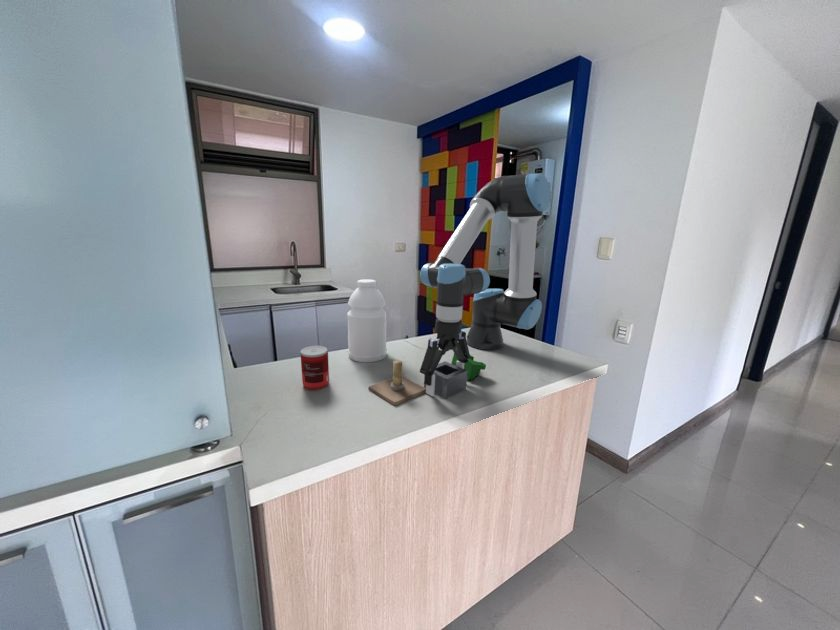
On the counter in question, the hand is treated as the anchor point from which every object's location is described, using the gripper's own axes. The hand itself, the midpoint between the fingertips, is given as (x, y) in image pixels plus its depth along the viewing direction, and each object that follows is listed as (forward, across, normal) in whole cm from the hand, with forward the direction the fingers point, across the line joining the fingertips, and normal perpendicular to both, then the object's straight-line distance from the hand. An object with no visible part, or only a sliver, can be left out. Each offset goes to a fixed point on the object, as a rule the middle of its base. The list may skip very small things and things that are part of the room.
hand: (445, 387), depth 101 cm
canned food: (0, +28, -27) cm, 39 cm away
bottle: (0, +3, -36) cm, 36 cm away
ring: (0, 0, 0) cm, 0 cm away
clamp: (0, -14, -2) cm, 14 cm away
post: (0, +12, -8) cm, 14 cm away
